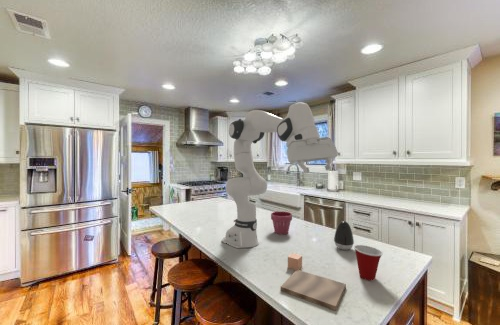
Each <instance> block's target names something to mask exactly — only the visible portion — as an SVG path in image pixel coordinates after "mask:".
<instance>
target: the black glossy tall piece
mask: <svg viewBox="0 0 500 325" xmlns="http://www.w3.org/2000/svg"><path fill="white" fill-rule="evenodd" d="M333 241H334V244H335V246H336V247H337V248H338V249H340V250H343V251H349V250H350V249H352V248H353V247H354V244H355V240H354V234H353V231H352V227H351V225H350V223H348V222H347V221H346V220H341V221H340V222H339V223H338V224H337V226H336V229H335V232H334V237H333Z"/></svg>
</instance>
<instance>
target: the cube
mask: <svg viewBox="0 0 500 325" xmlns="http://www.w3.org/2000/svg"><path fill="white" fill-rule="evenodd" d="M302 267H303V255H301V254H297V253H293V252H291V253H290V254H289V255H288V256H287V268H289V269H292V270H294V271H296V270H300V269H301V268H302Z"/></svg>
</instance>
